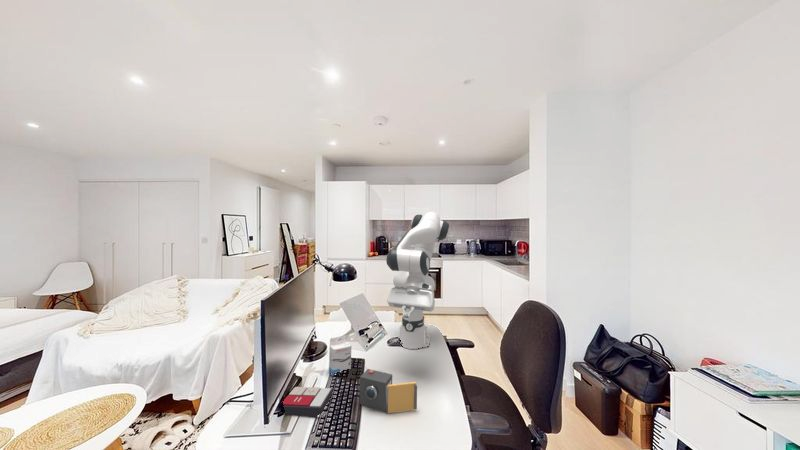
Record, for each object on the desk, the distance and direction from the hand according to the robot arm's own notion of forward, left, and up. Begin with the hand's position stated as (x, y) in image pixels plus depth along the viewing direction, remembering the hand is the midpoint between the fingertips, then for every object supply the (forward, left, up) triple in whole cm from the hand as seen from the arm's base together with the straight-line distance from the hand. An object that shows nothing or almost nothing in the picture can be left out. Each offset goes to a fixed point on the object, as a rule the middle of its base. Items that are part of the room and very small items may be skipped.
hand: (406, 317), depth 107 cm
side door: (+15, +4, -27) cm, 31 cm away
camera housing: (+14, -6, -27) cm, 31 cm away
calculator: (+25, -28, -28) cm, 47 cm away
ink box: (+1, -30, -28) cm, 41 cm away
